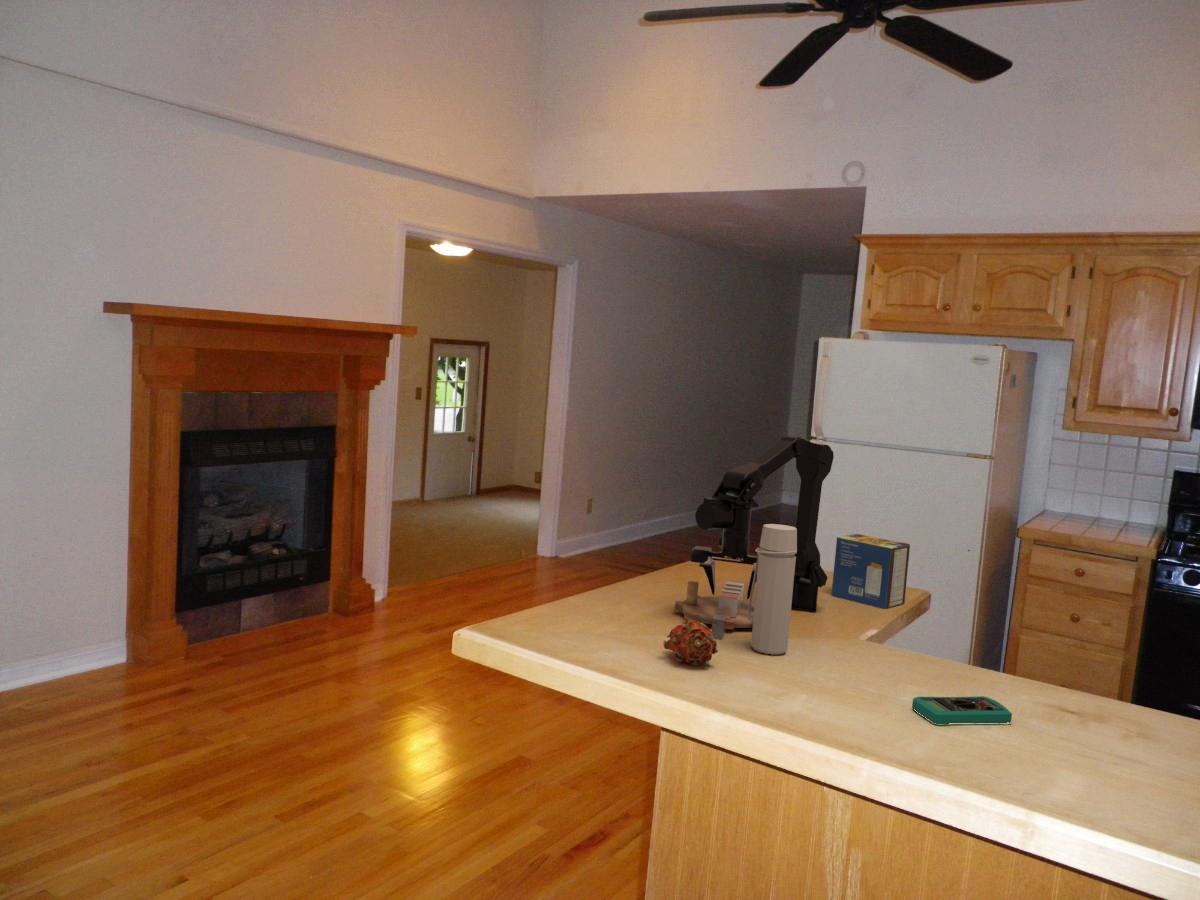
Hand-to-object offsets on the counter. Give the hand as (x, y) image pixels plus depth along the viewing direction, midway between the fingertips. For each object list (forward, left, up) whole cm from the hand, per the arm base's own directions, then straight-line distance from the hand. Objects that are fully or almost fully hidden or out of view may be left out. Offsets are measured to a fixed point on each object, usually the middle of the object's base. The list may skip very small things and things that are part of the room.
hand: (730, 596), depth 201 cm
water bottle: (-9, +19, -5) cm, 22 cm away
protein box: (-31, -38, -6) cm, 49 cm away
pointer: (+1, +15, -5) cm, 15 cm away
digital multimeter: (-44, +41, -6) cm, 60 cm away
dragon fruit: (+4, +34, -6) cm, 35 cm away
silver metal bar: (0, 0, -2) cm, 3 cm away
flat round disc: (+1, 0, -5) cm, 5 cm away
